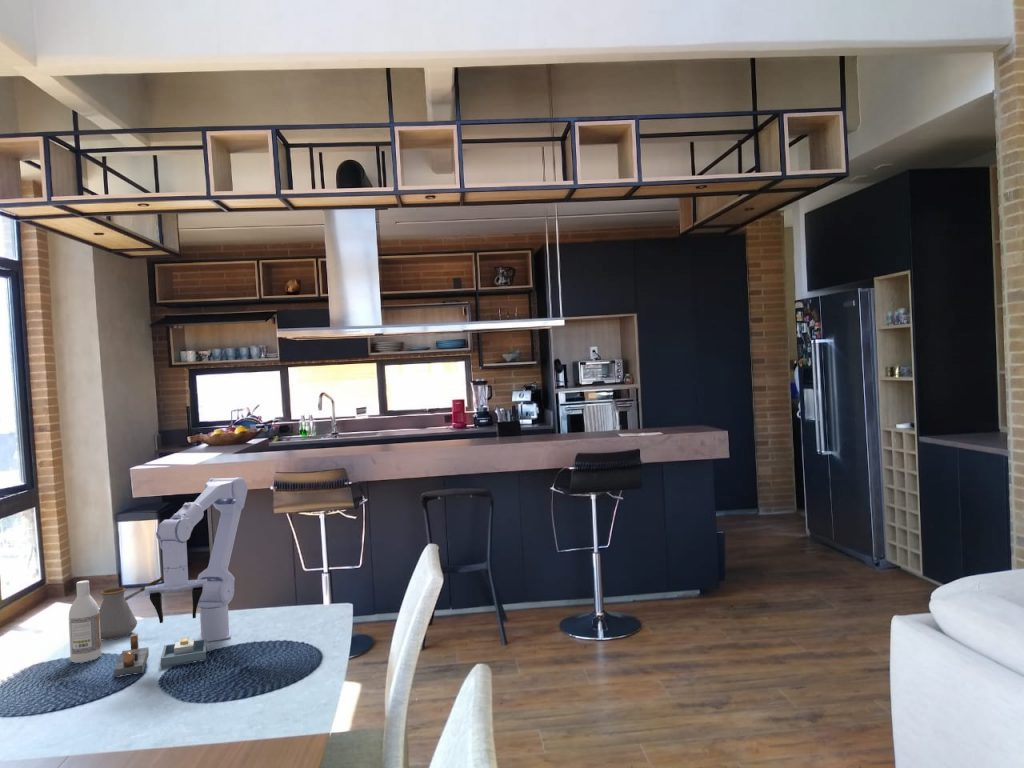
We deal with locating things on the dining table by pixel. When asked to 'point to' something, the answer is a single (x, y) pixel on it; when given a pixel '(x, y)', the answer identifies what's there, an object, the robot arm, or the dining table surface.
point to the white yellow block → (184, 646)
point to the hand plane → (132, 659)
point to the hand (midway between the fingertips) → (177, 619)
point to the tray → (171, 660)
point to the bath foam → (84, 625)
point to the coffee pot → (118, 613)
